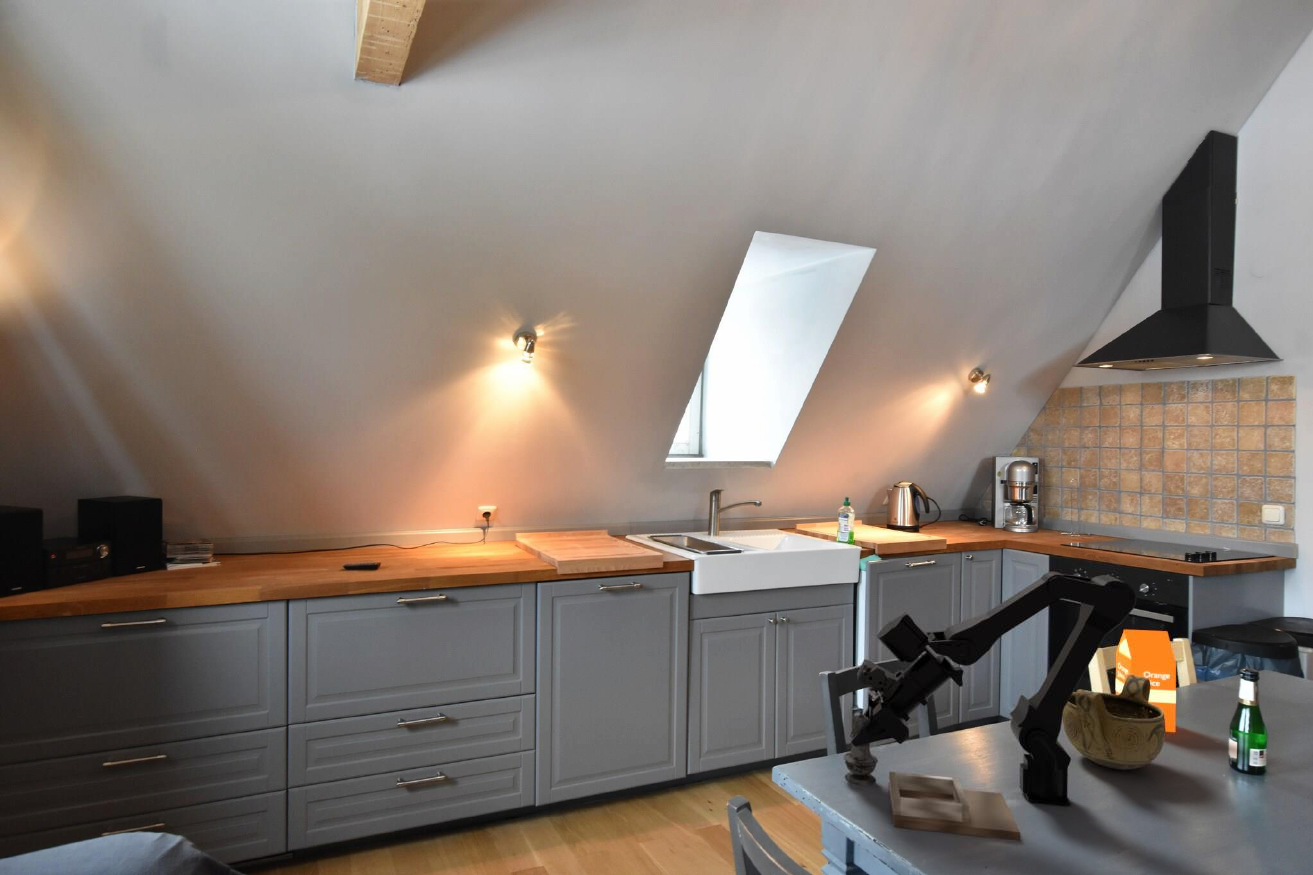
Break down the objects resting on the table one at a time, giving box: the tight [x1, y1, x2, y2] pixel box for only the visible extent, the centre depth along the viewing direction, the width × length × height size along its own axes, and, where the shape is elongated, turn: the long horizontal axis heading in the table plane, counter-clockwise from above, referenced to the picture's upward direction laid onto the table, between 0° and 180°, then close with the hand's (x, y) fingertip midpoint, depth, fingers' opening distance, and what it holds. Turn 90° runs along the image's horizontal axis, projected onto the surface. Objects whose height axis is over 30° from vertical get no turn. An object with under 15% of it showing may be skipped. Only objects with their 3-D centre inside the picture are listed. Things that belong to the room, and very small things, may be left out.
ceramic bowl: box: [1062, 675, 1167, 771], centre depth 153 cm, size 22×17×15 cm
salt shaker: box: [842, 709, 879, 786], centre depth 144 cm, size 6×6×12 cm
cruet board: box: [887, 771, 1021, 841], centre depth 131 cm, size 18×14×4 cm
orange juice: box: [1115, 629, 1177, 733], centre depth 174 cm, size 8×9×20 cm
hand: (852, 740), depth 144 cm, fingers closed on salt shaker, 4 cm apart
